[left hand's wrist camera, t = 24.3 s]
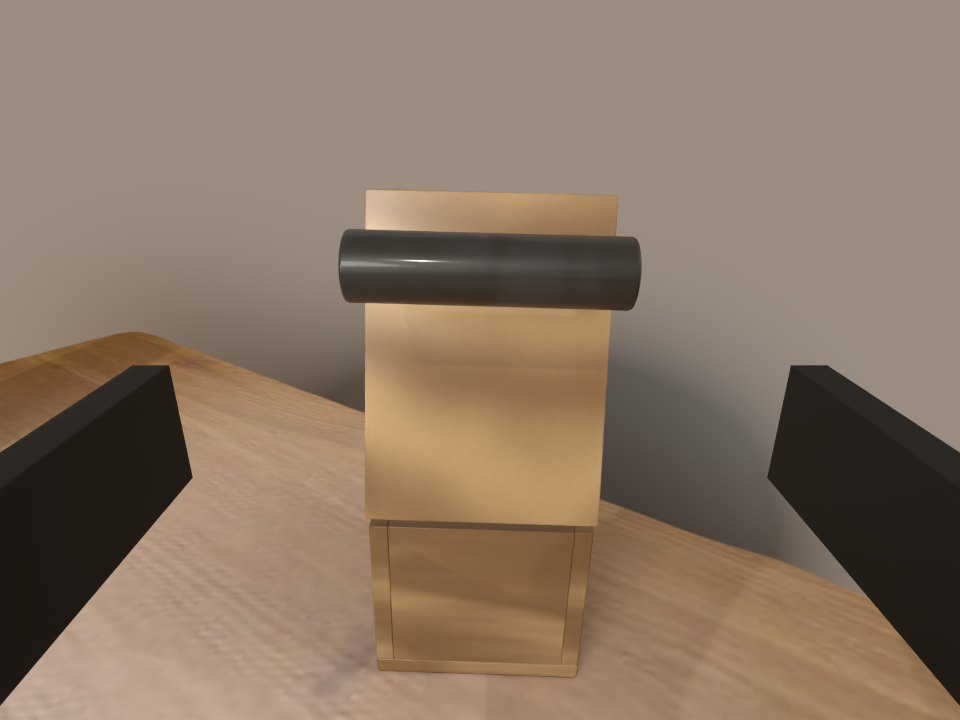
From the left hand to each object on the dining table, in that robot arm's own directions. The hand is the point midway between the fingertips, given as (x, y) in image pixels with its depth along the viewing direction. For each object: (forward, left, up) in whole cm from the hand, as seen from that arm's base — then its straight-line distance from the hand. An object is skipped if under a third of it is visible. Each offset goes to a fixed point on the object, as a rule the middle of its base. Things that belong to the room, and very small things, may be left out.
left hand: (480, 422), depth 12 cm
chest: (+11, -12, -20) cm, 25 cm away
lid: (+8, -9, -3) cm, 13 cm away
